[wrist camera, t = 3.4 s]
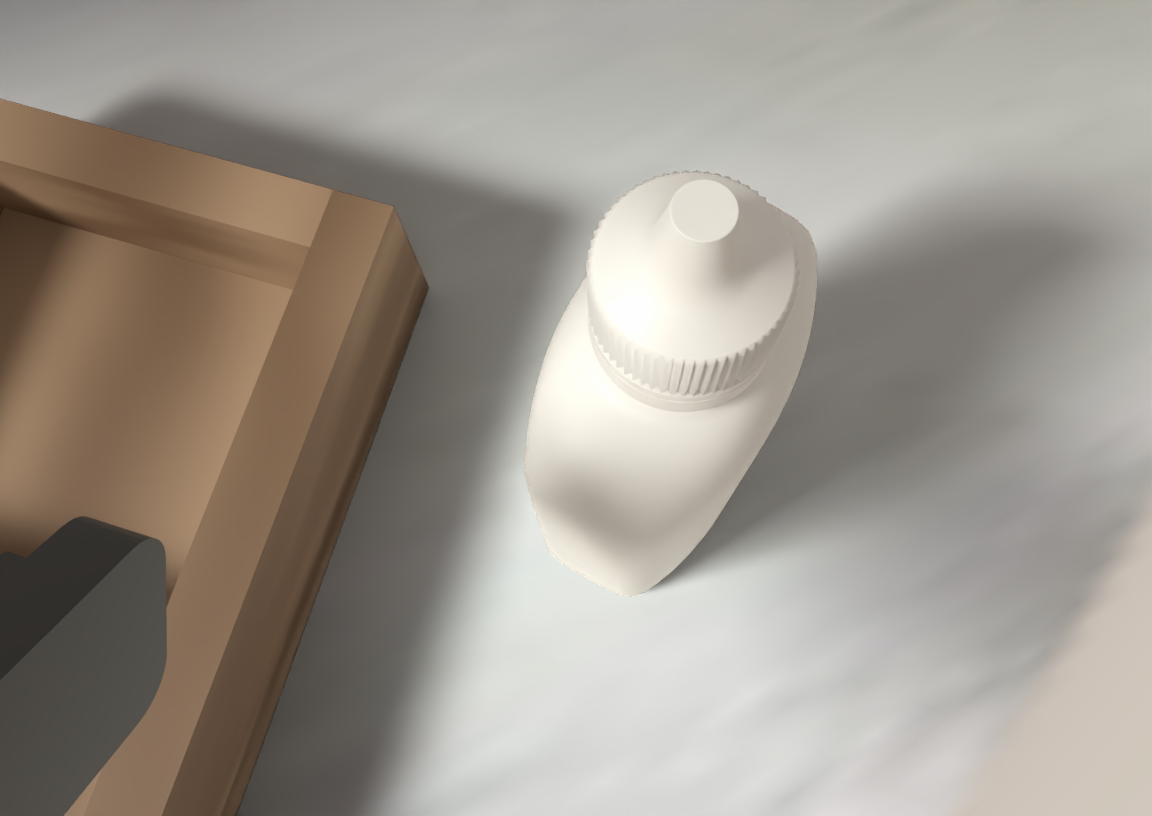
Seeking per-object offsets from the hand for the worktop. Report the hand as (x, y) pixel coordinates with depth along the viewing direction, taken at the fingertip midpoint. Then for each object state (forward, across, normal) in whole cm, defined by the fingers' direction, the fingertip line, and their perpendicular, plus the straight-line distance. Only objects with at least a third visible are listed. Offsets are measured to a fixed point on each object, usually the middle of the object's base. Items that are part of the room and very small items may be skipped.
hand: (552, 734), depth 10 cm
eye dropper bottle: (+12, 0, +5) cm, 13 cm away
